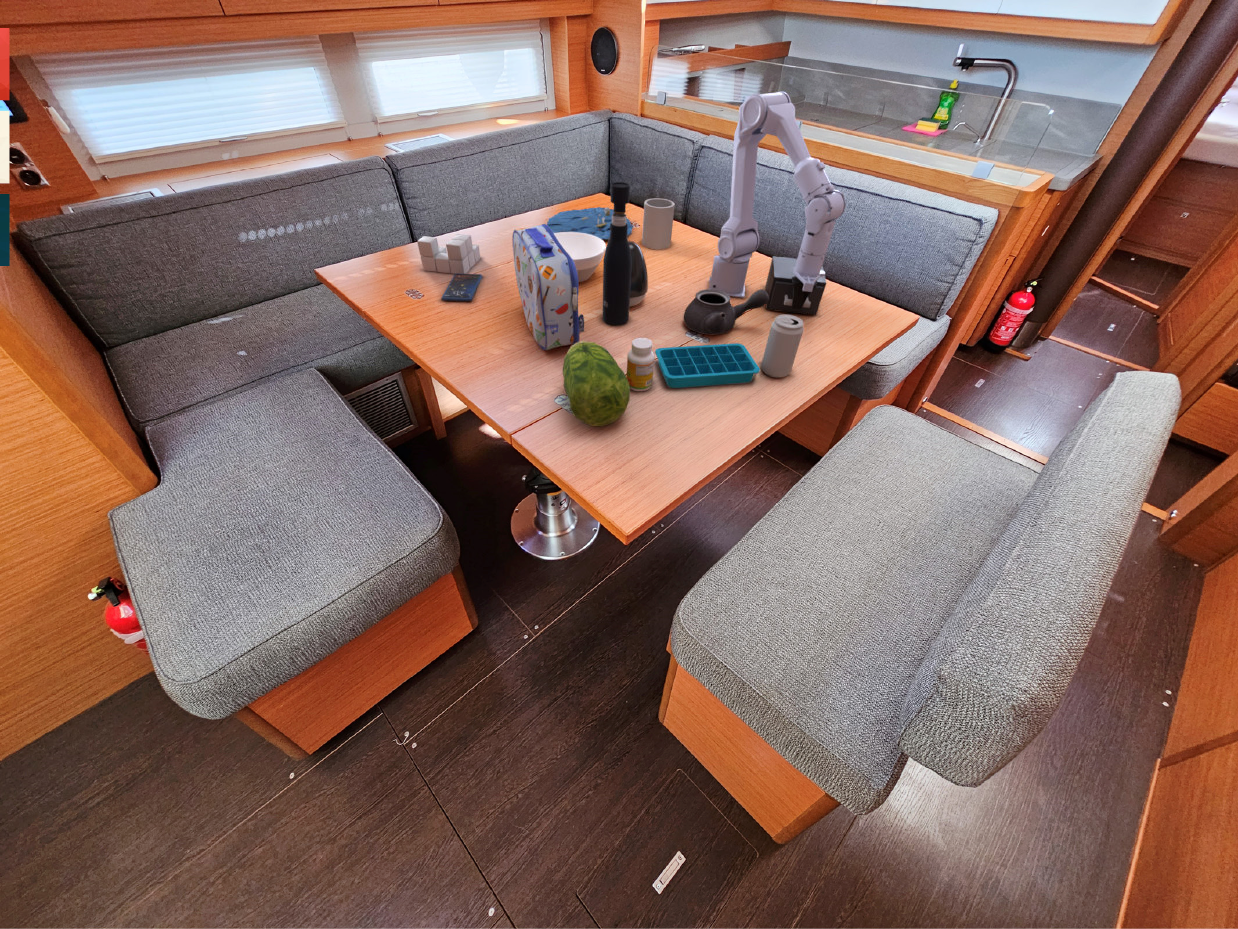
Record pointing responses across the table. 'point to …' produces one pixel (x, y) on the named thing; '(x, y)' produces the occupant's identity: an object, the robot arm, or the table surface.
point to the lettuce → (594, 384)
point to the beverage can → (782, 345)
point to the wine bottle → (617, 261)
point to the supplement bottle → (640, 365)
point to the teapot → (718, 311)
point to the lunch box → (547, 287)
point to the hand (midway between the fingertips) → (796, 308)
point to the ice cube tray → (706, 365)
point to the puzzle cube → (449, 254)
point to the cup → (657, 223)
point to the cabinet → (785, 278)
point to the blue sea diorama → (585, 222)
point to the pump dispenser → (637, 275)
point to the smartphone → (462, 287)
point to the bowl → (583, 251)
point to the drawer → (785, 296)
